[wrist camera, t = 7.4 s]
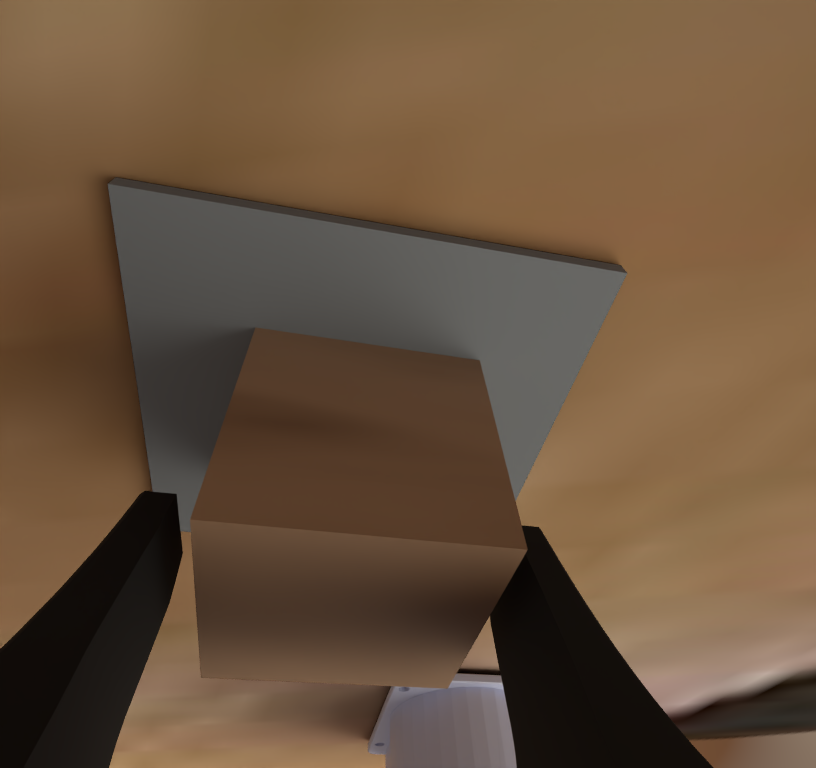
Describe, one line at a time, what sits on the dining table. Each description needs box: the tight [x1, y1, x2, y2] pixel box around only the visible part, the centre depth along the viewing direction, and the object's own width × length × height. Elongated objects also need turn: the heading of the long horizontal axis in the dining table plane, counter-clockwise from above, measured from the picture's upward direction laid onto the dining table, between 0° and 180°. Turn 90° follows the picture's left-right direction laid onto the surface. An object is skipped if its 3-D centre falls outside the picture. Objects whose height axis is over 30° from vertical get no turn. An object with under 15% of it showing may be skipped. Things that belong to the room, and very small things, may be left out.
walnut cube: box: [190, 327, 528, 689], centre depth 12 cm, size 6×6×6 cm
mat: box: [108, 177, 627, 532], centre depth 15 cm, size 11×11×1 cm
